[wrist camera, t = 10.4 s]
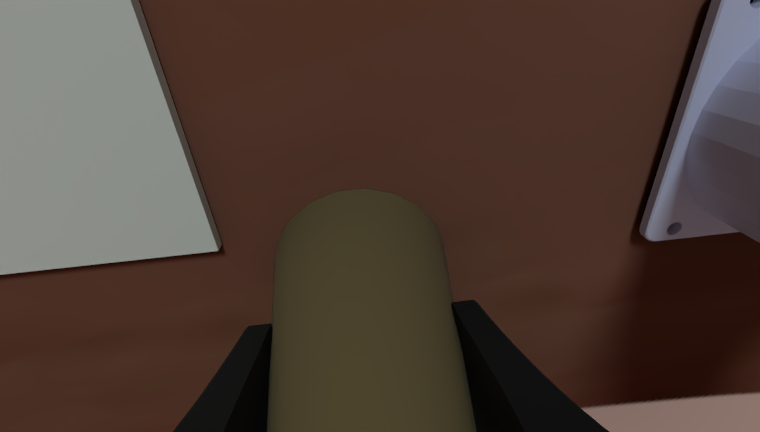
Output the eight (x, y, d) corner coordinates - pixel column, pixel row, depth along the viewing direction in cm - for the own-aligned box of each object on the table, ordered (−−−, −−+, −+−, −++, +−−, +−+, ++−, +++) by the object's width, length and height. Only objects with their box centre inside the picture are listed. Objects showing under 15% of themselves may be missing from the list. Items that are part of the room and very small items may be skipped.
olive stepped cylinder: (338, 347, 15) (331, 908, 6) (236, 246, 13) (-94, 999, 3) (470, 281, 14) (730, 843, 5) (390, 153, 11) (628, 897, 2)
